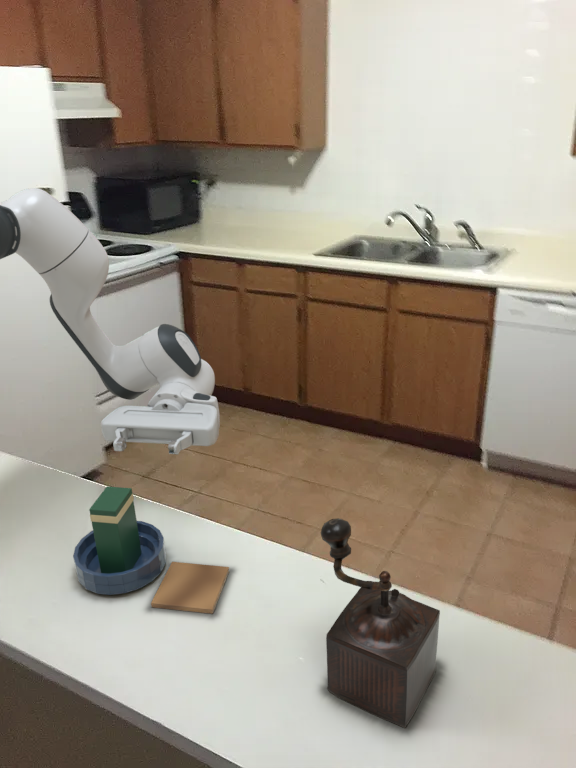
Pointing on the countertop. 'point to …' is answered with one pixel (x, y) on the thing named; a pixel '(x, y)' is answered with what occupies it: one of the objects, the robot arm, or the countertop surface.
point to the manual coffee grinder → (379, 642)
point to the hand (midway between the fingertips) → (144, 449)
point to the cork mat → (191, 587)
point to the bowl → (128, 580)
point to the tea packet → (115, 530)
